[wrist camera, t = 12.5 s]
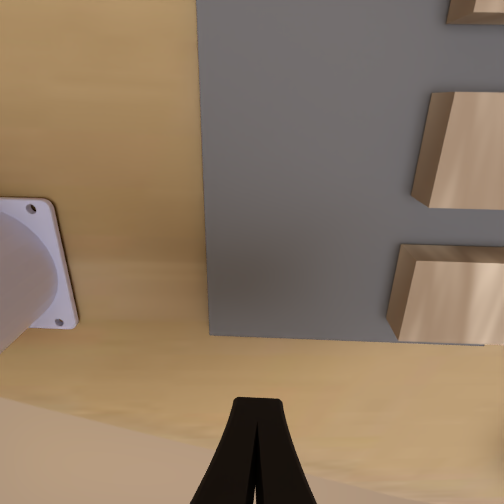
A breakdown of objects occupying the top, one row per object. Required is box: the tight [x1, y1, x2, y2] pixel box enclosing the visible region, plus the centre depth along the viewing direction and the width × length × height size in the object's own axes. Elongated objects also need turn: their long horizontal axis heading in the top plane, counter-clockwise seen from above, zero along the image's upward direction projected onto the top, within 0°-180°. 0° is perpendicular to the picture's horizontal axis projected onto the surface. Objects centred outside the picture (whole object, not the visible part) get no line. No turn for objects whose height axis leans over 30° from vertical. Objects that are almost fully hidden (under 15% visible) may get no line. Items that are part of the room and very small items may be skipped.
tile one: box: [386, 244, 504, 345], centre depth 18 cm, size 2×4×6 cm
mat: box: [196, 0, 504, 346], centre depth 16 cm, size 16×22×1 cm
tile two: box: [411, 92, 504, 210], centre depth 15 cm, size 2×4×6 cm
